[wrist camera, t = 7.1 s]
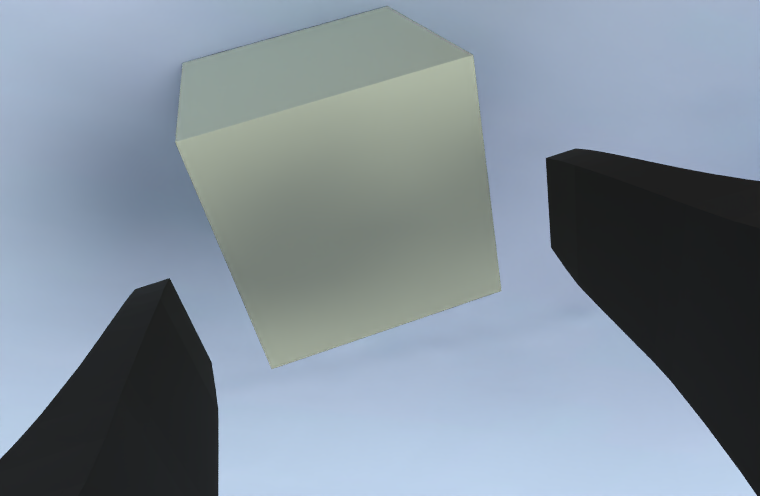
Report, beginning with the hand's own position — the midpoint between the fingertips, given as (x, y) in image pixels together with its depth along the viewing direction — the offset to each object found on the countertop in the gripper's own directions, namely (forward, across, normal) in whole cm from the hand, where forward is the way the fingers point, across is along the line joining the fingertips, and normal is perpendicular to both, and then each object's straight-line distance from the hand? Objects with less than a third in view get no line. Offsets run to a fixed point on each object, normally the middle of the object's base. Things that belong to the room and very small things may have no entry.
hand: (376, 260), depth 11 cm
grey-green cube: (+7, 0, 0) cm, 7 cm away
